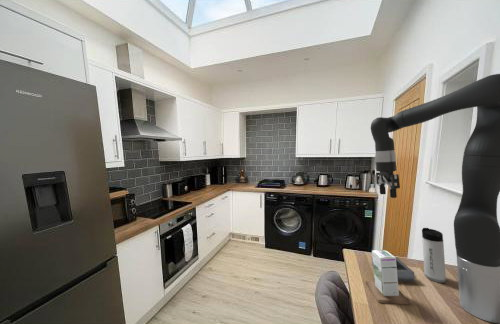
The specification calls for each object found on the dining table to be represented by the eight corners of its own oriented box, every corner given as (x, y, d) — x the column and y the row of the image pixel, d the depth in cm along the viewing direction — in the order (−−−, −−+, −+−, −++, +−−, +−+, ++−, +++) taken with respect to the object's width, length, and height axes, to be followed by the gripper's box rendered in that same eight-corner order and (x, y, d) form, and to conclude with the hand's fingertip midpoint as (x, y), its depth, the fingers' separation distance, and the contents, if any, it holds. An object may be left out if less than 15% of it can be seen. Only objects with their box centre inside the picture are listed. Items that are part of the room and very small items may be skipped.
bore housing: (398, 266, 85) (397, 257, 85) (414, 282, 74) (414, 272, 74) (372, 265, 87) (371, 257, 87) (385, 280, 76) (384, 271, 76)
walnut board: (392, 284, 73) (392, 282, 73) (409, 304, 63) (409, 301, 63) (365, 283, 75) (365, 281, 75) (378, 302, 65) (378, 299, 65)
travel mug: (435, 272, 79) (432, 227, 79) (450, 282, 72) (447, 233, 72) (420, 272, 79) (417, 227, 79) (433, 282, 73) (430, 233, 73)
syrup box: (399, 296, 66) (397, 257, 66) (382, 296, 67) (380, 257, 67) (389, 285, 72) (386, 249, 72) (373, 285, 72) (371, 249, 72)
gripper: (405, 160, 75) (407, 198, 75) (385, 160, 89) (388, 192, 89) (385, 161, 77) (387, 199, 77) (369, 161, 91) (371, 193, 91)
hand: (387, 195), depth 83 cm, fingers open, 8 cm apart
